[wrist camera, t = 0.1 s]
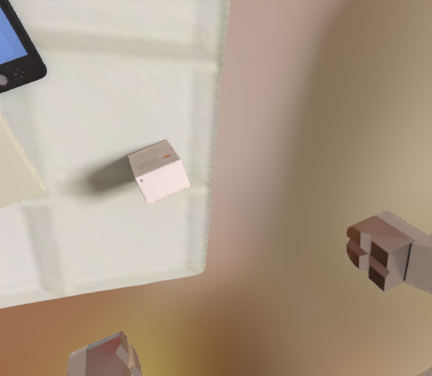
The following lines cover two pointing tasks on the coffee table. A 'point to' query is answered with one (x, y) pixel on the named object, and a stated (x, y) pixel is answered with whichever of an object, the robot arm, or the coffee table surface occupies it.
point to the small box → (158, 171)
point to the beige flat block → (16, 170)
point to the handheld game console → (16, 52)
